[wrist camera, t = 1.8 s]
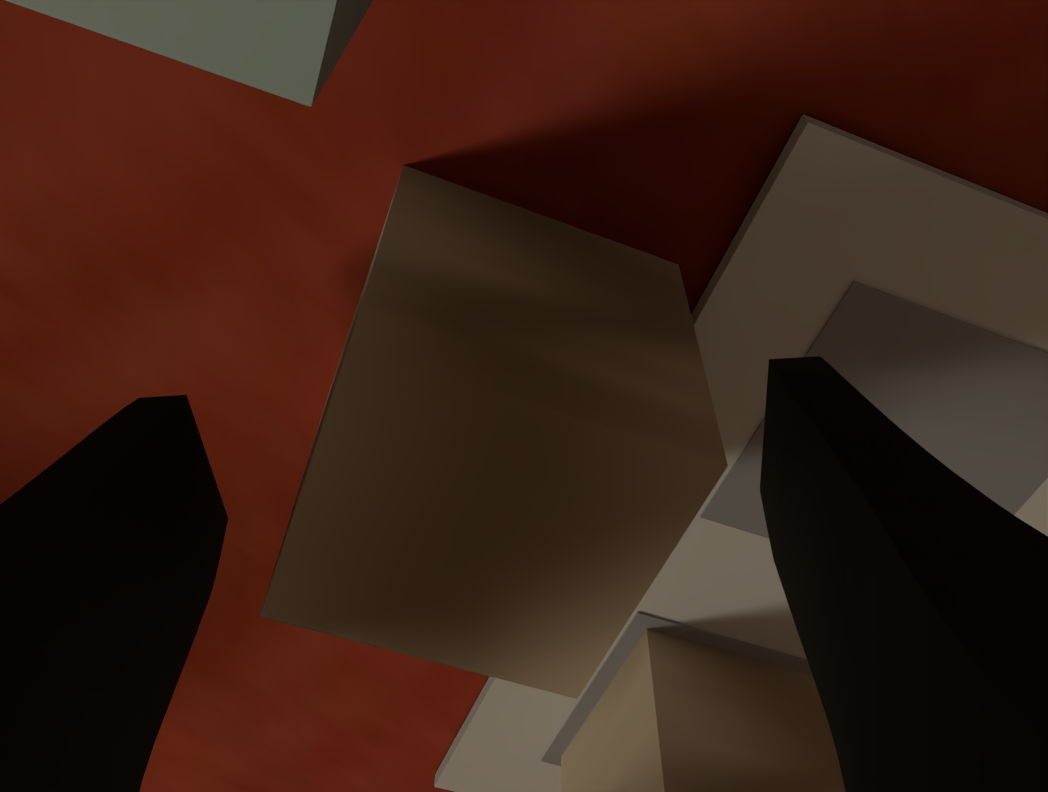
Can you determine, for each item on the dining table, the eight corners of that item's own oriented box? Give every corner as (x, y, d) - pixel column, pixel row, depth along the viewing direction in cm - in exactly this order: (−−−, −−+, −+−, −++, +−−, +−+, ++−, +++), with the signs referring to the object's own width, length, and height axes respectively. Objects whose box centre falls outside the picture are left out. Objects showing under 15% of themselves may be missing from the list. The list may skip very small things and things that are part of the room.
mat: (1299, 315, 14) (1316, 328, 14) (775, 855, 22) (778, 870, 22) (802, 114, 12) (809, 123, 12) (435, 773, 21) (434, 788, 20)
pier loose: (677, 262, 14) (727, 466, 10) (569, 469, 16) (577, 699, 12) (404, 163, 13) (349, 345, 9) (328, 395, 15) (259, 616, 11)
